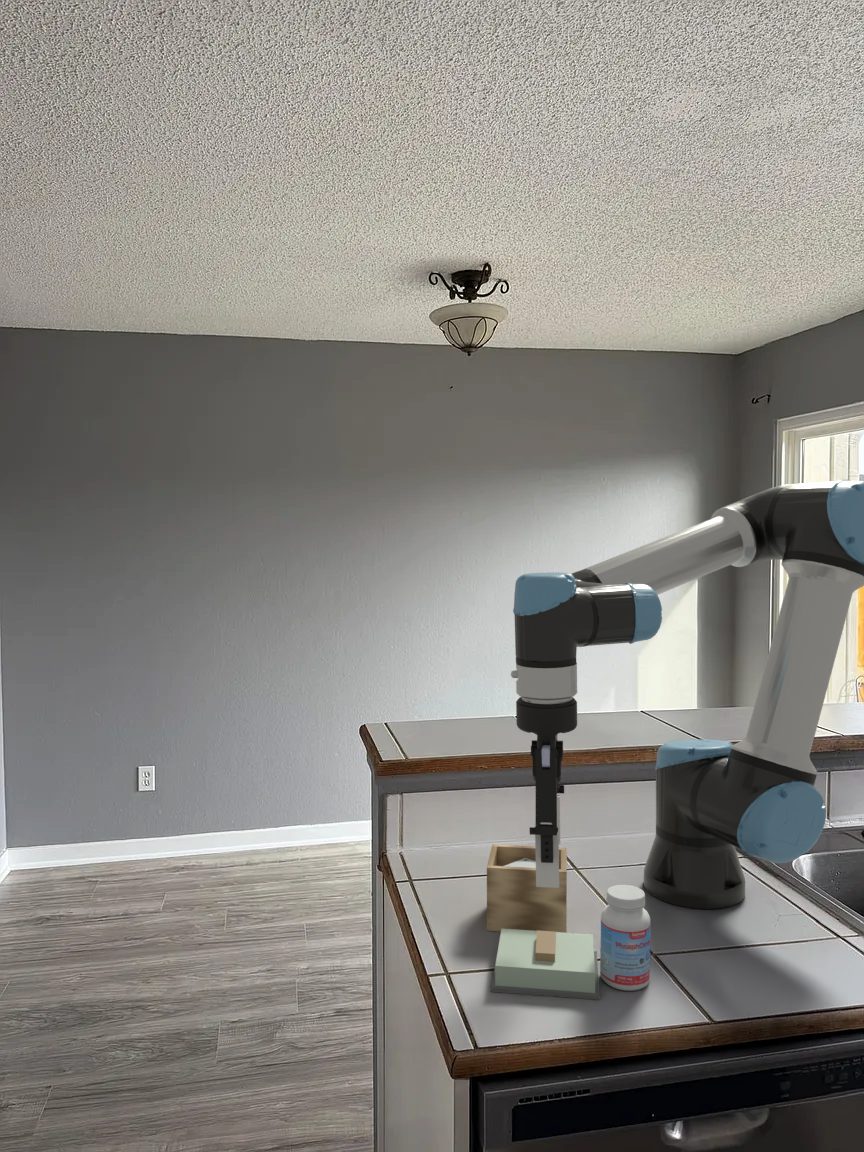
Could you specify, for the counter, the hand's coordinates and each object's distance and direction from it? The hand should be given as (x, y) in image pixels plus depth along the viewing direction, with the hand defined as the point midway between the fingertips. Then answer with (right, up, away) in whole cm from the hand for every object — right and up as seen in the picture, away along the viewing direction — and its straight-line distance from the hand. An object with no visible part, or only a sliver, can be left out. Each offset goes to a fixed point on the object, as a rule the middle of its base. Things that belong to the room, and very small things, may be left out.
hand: (549, 863), depth 112 cm
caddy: (-1, -13, +16) cm, 21 cm away
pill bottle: (+9, -14, -1) cm, 17 cm away
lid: (0, -14, +1) cm, 14 cm away
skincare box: (-1, -13, +16) cm, 21 cm away
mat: (0, -14, +1) cm, 14 cm away
